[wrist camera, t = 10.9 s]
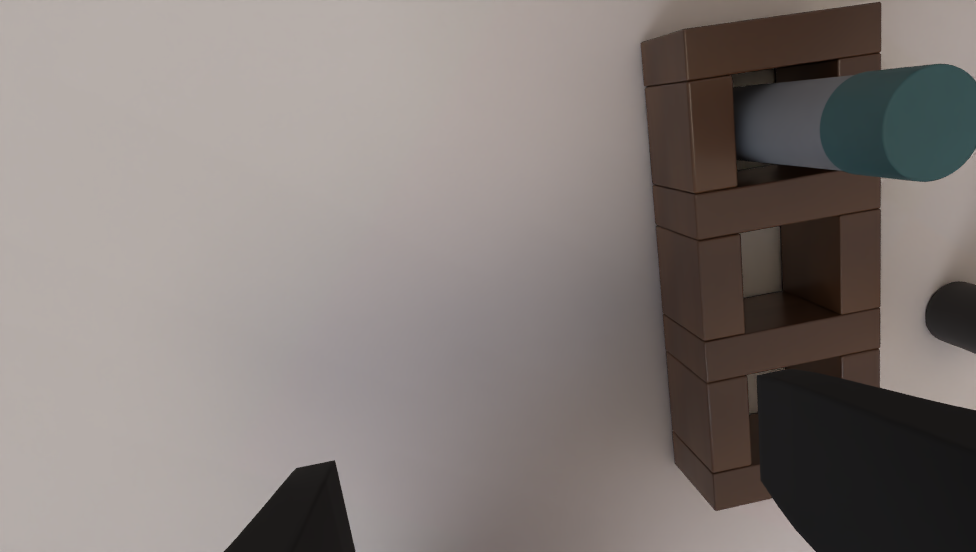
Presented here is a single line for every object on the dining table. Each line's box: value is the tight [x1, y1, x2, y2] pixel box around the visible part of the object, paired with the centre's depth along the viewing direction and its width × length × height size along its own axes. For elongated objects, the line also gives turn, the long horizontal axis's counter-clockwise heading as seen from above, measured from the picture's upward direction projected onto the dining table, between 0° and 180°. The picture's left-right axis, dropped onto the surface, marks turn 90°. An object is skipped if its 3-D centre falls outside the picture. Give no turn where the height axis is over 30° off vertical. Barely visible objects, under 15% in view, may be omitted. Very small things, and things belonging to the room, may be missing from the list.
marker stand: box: [641, 2, 881, 511], centre depth 21 cm, size 14×6×3 cm, turn 9°
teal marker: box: [733, 64, 976, 182], centre depth 17 cm, size 2×2×8 cm
